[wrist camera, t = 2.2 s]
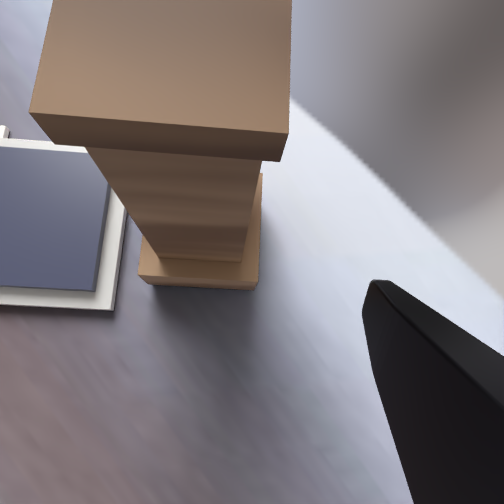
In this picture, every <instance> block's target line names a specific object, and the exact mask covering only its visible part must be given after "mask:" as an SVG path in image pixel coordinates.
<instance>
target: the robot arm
mask: <svg viewBox="0 0 504 504" xmlns="http://www.w3.org/2000/svg"><path fill="white" fill-rule="evenodd" d="M362 319H363V324H364V329H365V335H366V340H367V345H368V351H369V356H370V361H371V366H372V371H373V375H374V378H375V382H376V385H377V388H378V392H379V395H380V398H381V401H382V404H383V407H384V411H385V414H386V417H387V420H388V423H389V426H390V430H391V433H392V436H393V439H394V442H395V445H396V449H397V452H398V455H399V458H400V461H401V465H402V468H403V471H404V474H405V477H406V480H407V484H408V487H409V490H410V493H411V496H412V499H413V503H414V504H504V356H503V355H501V354H500V353H498V352H496V351H495V350H493V349H492V348H490V347H489V346H487V345H486V344H484V343H483V342H481V341H480V340H478V339H477V338H475V337H474V336H472V335H471V334H469V333H468V332H466V331H465V330H463V329H462V328H460V327H459V326H457V325H456V324H454V323H453V322H451V321H450V320H448V319H447V318H445V317H444V316H442V315H441V314H439V313H438V312H436V311H435V310H433V309H432V308H430V307H429V306H427V305H426V304H424V303H423V302H421V301H420V300H418V299H417V298H415V297H414V296H412V295H411V294H409V293H408V292H406V291H405V290H403V289H402V288H400V287H399V286H397V285H396V284H394V283H393V282H391V281H389V280H372V281H371V282H370V284H369V287H368V290H367V294H366V297H365V301H364V304H363V308H362Z"/></svg>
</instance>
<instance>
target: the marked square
mask: <svg viewBox="0 0 504 504" xmlns="http://www.w3.org/2000/svg"><path fill="white" fill-rule="evenodd" d="M8 135H9V129H8V128H7V127H6V126H0V138H8Z"/></svg>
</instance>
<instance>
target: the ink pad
mask: <svg viewBox="0 0 504 504" xmlns="http://www.w3.org/2000/svg"><path fill="white" fill-rule="evenodd" d="M126 215H127V210H126V209H125V207H124V206H123V204H122V203H121V201H120V200H119V198H118V197H117V195H116V194H115V192H114V191H113V189H112V188H111V186H110V185H109V183H108V182H107V180H106V179H105V177H104V176H103V174H102V173H101V171H100V170H99V168H98V167H97V165H96V164H95V162H94V161H93V159H92V158H91V156H90V155H89V153H88V152H87V150H86V149H85V147H79V146H66V145H55V144H54V143H53V142H48V141H35V140H23V139H10V138H0V305H12V306H31V307H50V308H69V309H88V310H107V311H114V304H115V296H116V289H117V282H118V274H119V267H120V260H121V252H122V245H123V238H124V230H125V223H126Z"/></svg>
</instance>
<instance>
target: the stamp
mask: <svg viewBox="0 0 504 504" xmlns="http://www.w3.org/2000/svg"><path fill="white" fill-rule="evenodd" d="M291 10H292V0H53V3H52V8H51V13H50V17H49V22H48V26H47V31H46V35H45V40H44V44H43V49H42V53H41V58H40V62H39V67H38V72H37V76H36V81H35V85H34V90H33V94H32V99H31V103H30V108H29V113H30V115H31V116H32V117H33V118H34V120H35V121H36V122H37V123H38V125H39V126H40V127H41V128H42V129H43V131H44V132H45V133H46V134H47V136H48V137H49V138H50V139H51V141H52V142H53V143H54V144H55V145H66V146H79V147H85V149H86V150H87V152H88V153H89V155H90V156H91V158H92V159H93V161H94V162H95V164H96V165H97V167H98V168H99V170H100V171H101V173H102V174H103V176H104V177H105V179H106V180H107V182H108V183H109V185H110V186H111V188H112V189H113V191H114V192H115V194H116V195H117V197H118V198H119V200H120V201H121V203H122V204H123V206H124V207H125V209H126V210H127V212H128V213H129V215H130V216H131V218H132V219H133V221H134V222H135V224H136V225H137V227H138V228H139V229H140V231H141V232H142V234H143V236H142V244H141V252H140V261H139V269H138V275H139V276H140V277H141V278H142V279H143V280H144V281H145V282H146V283H147V284H151V285H169V286H186V287H204V288H221V289H239V290H254V289H255V287H256V285H257V283H258V272H259V248H260V224H261V200H262V176H263V173H260V168H261V163H262V161H273V162H280V160H281V157H282V154H283V150H284V147H285V144H286V140H287V137H288V134H289V97H290V54H291Z"/></svg>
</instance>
